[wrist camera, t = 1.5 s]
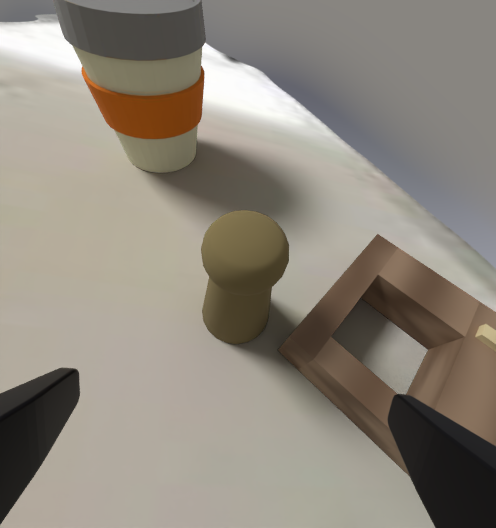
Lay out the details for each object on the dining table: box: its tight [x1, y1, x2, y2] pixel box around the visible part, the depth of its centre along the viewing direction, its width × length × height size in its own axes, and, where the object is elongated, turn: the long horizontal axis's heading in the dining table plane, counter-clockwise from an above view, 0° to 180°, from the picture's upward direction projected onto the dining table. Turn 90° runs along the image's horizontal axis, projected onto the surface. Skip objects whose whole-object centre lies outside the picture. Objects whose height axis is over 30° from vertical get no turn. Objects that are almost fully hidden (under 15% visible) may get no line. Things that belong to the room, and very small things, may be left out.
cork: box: [201, 210, 289, 344], centre depth 18 cm, size 6×6×11 cm
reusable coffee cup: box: [53, 0, 206, 173], centre depth 27 cm, size 13×13×15 cm
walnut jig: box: [278, 234, 496, 476], centre depth 19 cm, size 20×14×5 cm
